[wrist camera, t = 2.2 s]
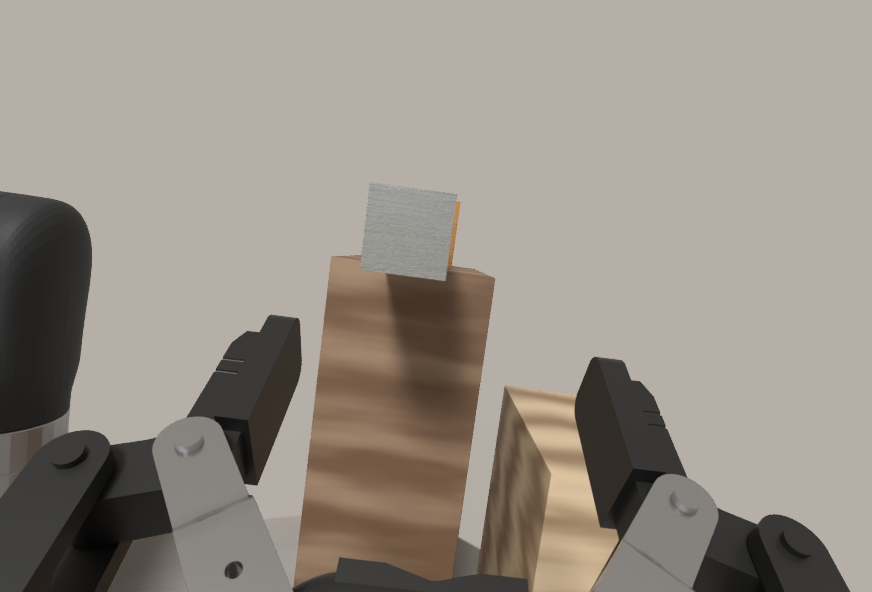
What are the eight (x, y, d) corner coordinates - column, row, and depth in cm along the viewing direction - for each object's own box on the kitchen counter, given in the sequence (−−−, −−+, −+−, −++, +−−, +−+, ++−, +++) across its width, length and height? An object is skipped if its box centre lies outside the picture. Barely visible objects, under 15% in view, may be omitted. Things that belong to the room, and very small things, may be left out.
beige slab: (629, 849, 29) (695, 492, 27) (494, 834, 29) (551, 473, 27) (555, 622, 47) (591, 396, 45) (471, 612, 47) (504, 385, 45)
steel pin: (470, 284, 20) (489, 146, 20) (335, 266, 20) (350, 127, 20) (449, 265, 46) (457, 206, 46) (390, 258, 46) (398, 198, 46)
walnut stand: (426, 756, 33) (495, 278, 30) (276, 738, 33) (331, 256, 30) (429, 592, 49) (474, 269, 46) (327, 579, 49) (366, 254, 46)
